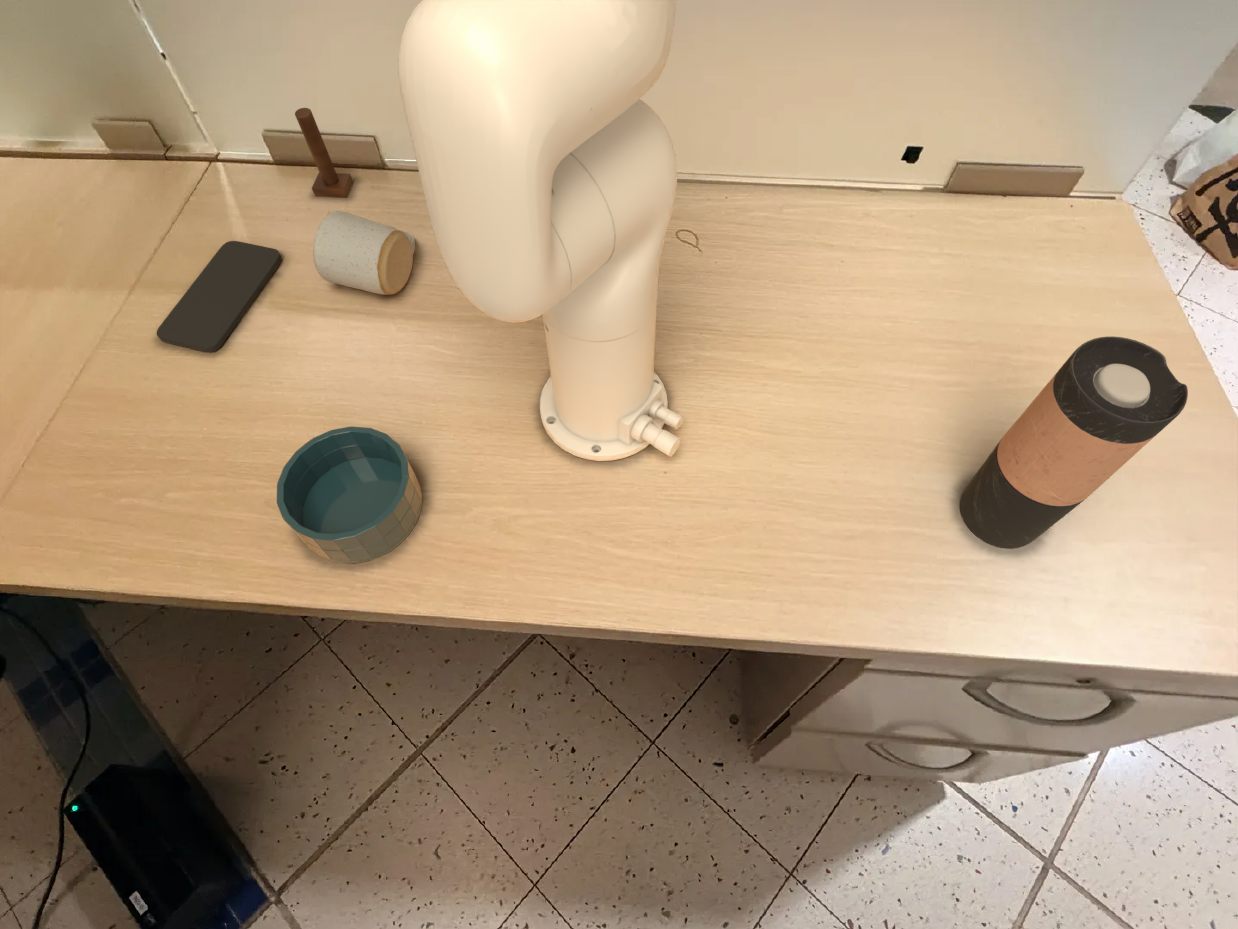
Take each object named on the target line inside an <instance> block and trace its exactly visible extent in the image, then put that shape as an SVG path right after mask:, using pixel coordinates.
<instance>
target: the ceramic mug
mask: <svg viewBox="0 0 1238 929" xmlns="http://www.w3.org/2000/svg"><path fill="white" fill-rule="evenodd" d="M312 250H313V252H312V254H313V255H312V256H313V261H314V265H315V268H316V271H317V273H318V275H319V276H320V277H321V278H322V279H323V280H324V281H326V282H328V283H331V284H337V285H341V286H345V287H349V288H352V289H357V290H361V291H366V292H369V293H372V294H377V295H385V296H387V295H388V296H389V295H395V294H397V293H399V292H400V291H401V290H402V289H403V288H404V287H405V285H406V284H407V282H408V280H409V278H410V277H411V276H410V275H411V272H412V269H413V263H414V262H413V261H414V253H415V252H416V239H415V237H414V235H412V234H411V233H409V232H407V231H404V230H401V229H398V228H396V227H394V226H391V225H388V224H385V223H381V222H377V221H374V220H371V219H367V218H365V217H361V216H358V215H355V214H353V213H350V212H349V213H348V212H345V211H341V210H336V211H331V212H330V213H328V214H326V216H325V217H323V219H322V220H321V222H320V223H319V224H318V227H317V229H316V232H315V236H314V239H313V249H312Z"/></svg>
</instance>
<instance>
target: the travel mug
mask: <svg viewBox="0 0 1238 929" xmlns="http://www.w3.org/2000/svg"><path fill="white" fill-rule="evenodd" d="M1188 398H1189V390H1188V386H1187V384H1186V383H1182V382H1180V381H1179V380H1178V379H1177V378H1176V377H1175V375H1174V374H1173V372H1172V371H1171V370H1170V367H1169V366H1168V362H1167V358H1166V356H1165V355H1164V354H1163V353H1162V352H1160V351H1159V350H1158V349H1156V348H1154V347H1152V346H1150V345H1148V344H1146V343H1144V342H1141V341H1138V340H1135V339H1131V338H1128V337H1122V336H1100V337H1096V338H1095V337H1094V338H1092V339H1089V340H1087V341H1085V342H1084V343H1082V344H1080V346H1078V347H1077V348H1076V349H1075V350H1074V351H1073V352H1072V354H1070V356H1069V357H1068V358H1067V359H1066V360H1065V362H1064V363H1063V364H1062V366H1061V367H1060V368H1059V369H1058V370H1057V372H1056V373H1055V374H1054V375H1053V376H1052V378H1051V379H1050V380H1049V381H1048V382H1047V384H1046V385H1045V386H1044V387H1043V388H1042V389H1041V391H1040V392H1039V393H1038V394H1037V396H1036V397H1035V398H1034V399H1033V400H1032V402H1031V403H1030V404H1029V405H1028V407H1026V409H1025V410H1024V411H1023V412H1022V413H1021V415H1020V416H1019V417H1018V418H1017V420H1015V422H1014V423H1013V424H1012V425H1011V427H1010V428H1009V429H1008V430H1007V431H1006V432H1005V434H1004V435H1003V436H1002V437H1001V439H1000V440H999V442H998V443H997V445H996V446H995V447H994V448H993V450H992V451H991V452H990V453H989V455H988V457H987V458H986V459H985V461H984V462H983V463H982V464H981V466H980V467H979V469H978V471H977V472H976V473H975V475H974V476H973V477H972V479H971V480H970V481H969V483H968V484H967V485H966V487H965V489H964V490H963V491H962V494H961V497H960V499H959V500H960V501H959V510H960V511H959V512H960V516H961V518H962V520H963V522H964V524H965V525H966V527H967V528H968V529H969V530H970V532H971V533H972V534H973V535H975V536H976V537H977V538H978V539H980V540H981V541H982V542H985V543H987V544H988V545H991V546H994V547H997V548H1000V549H1019V548H1022V547H1025V546H1027V545H1029V544H1031V543H1032V542H1033V541H1035V540H1036V539H1037V538H1039V537H1040V536H1041V535H1043V534H1044V533H1045V532H1047V531H1049V529H1050V528H1051V527H1053V526H1054V525H1055V524H1057V523H1058V522H1059V521H1060V520H1062V519H1063V518H1065V517H1066V515H1068V514H1069V513H1070V512H1072V511H1073V510H1074V509H1076V508H1077V507H1078V506H1080V504H1082V503H1083V502H1084V501H1085V500H1087V499H1088V498H1089V497H1090V496H1091V495H1092V494H1093V493H1094V492H1096V490H1098V489H1099V488H1100V487H1101V486H1102V485H1103V484H1104V483H1105V482H1106V481H1108V480H1109V479H1110V478H1111V477H1112V476H1113V475H1114V474H1115V473H1117V471H1119V470H1120V469H1121V468H1122V467H1123V466H1124V465H1125V464H1126V463H1127V462H1128V461H1130V460H1131V459H1132V458H1134V456H1135V455H1136V454H1138V452H1140V451H1141V450H1142V449H1143V448H1144V447H1146V445H1147V444H1149V442H1150V441H1152V440H1153V439H1154V438H1155V437H1156V436H1157V435H1158V434H1159V433H1160V432H1161V431H1163V430H1164V429H1165V428H1166V427H1168V425H1169V424H1171V423H1172V422H1173V421H1174V420H1175V419H1176V418H1177V417H1179V415H1180V414H1181V413H1182V411H1183V410H1184V408H1185V406H1186V404H1187V402H1188Z"/></svg>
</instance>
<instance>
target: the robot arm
mask: <svg viewBox="0 0 1238 929" xmlns="http://www.w3.org/2000/svg"><path fill="white" fill-rule="evenodd" d="M677 2H678V0H421V1H419V3H418V4H417V5H416V6H415V7H414V9H413V11H412V12H411V14H410V15H409V18H408V19H407V21H406V24H405V26H404V28H403V31H402V35H401V40H400V44H399V51H398V58H397V60H398V61H397V71H398V72H397V73H398V74H397V75H398V84H399V90H400V96H401V100H402V106H403V112H404V115H405V120H406V123H407V127H408V132H409V136H410V140H411V145H412V150H413V153H414V158H415V162H416V165H417V170H418V174H419V179H420V182H421V186H422V191H423V195H424V199H425V204H426V207H427V208H426V209H427V211H428V215H429V220H430V224H431V227H432V232H433V235H434V239H435V242H436V245H437V248H438V250H439V253H440V256H441V258H442V260H443V262H444V265H445V267H446V270H447V272H448V273H449V275H450V277H451V279H452V280H453V282H454V283H455V285H456V286H457V289H459V290H460V292H461V293H462V295H463V296H464V297H465V298H466V299H467V301H469V303H471V304H472V306H474V307H475V308H476V309H477V310H478V311H480V312H482V313H483V314H485V315H486V316H487V317H490V318H492V319H494V320H497V321H501V322H504V323H505V322H507V323H523V322H524V323H525V322H528V321H529V322H530V321H532V320H534V319H537V318H539V317H542V325H543V330H544V331H543V332H544V337H545V338H544V339H545V344H546V352H547V359H548V364H549V371H550V376H549V377H548V378H547V380H546V382H545V384H544V386H543V387H542V390H541V393H540V397H539V413H540V418H541V422H542V426H543V428H544V429H545V432H546V434H547V435H548V437H549V438H550V439H551V440H552V441H553V442H554V444H555V445H557V446H558V447H560V449H561V450H563V451H565V452H567V453H569V454H570V455H573V456H575V457H578V458H581V459H584V460H589V461H596V462H610V461H617V460H622V459H625V458H627V457H631V456H633V455H636V454H637V453H639V452H641V451H642V450H644V449H646V448H647V447H648V446H649V445H651V446H653V448H655V449H656V450H658V451H660V452H661V453H662V454H665V455H666V456H668V457H670V458H671V457H673V456H674V455H675V453H677V451H678V449H679V447H680V445H681V443H682V442H681V441H682V440H681V438H680V437H678V436H676V435H675V434H673V433H671V432H670V431H668V430H666V429H663V427H664V425H667V426H669V427H671V428H672V429H674V430H675V431H676V430H678V429H680V427H682V424H683V422H684V419H685V418H684V416H683V415H681V414H680V413H677V411H674V410H671V409H669V408H668V404H669V401H668V394H667V391H666V388H665V385H664V383H663V381H662V380H661V378H660V376H659V375H658V374H657V372H655V371H654V368H655V348H656V346H655V345H656V343H655V342H656V328H657V326H656V325H657V305H658V297H659V296H658V294H659V282H660V281H659V280H660V268H661V261H662V260H661V258H662V254H663V249H664V244H665V240H666V236H667V232H668V229H669V226H670V221H671V219H672V215H673V210H674V206H675V200H676V195H677V188H678V187H677V186H678V163H677V155H676V151H675V148H674V143H673V140H672V137H671V135H670V133H669V130H668V129H667V126H666V124H665V123H664V121H663V120H662V119H661V117H660V116H659V115H658V113H657V112H656V111H655V110H654V109H653V108H652V107H651V106H650V105H648V103H646V102H645V101H643V100H642V99H641V98H643V97H644V96H645V95H646V93H647V92H649V91H650V89H651V88H653V86H654V85H655V84H656V82H657V81H658V80H659V79H660V77H661V76H662V74H663V72H664V70H665V67H666V66H667V62H668V59H669V56H670V52H671V47H672V41H673V34H674V26H675V18H676V10H677V8H676V7H677Z"/></svg>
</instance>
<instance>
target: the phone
mask: <svg viewBox="0 0 1238 929" xmlns="http://www.w3.org/2000/svg"><path fill="white" fill-rule="evenodd" d="M282 260H283V257H282V254H281V253H280V251H279V250H278V249H276V248H272V247H267V246H263V245H258V244H254V243H249V242H243V241H238V240H229V241H227V242H224V243H223V244H222V245H221V246H220V248H219V249H218V250H217V252H215V254H214V255H213V257H212V258H211V259H210V260H209V262H208V263H207V264H206V266H205V267H204V268H203V270H202V271H201V272H200V274H199V275H198V276H197V277H196V278H195V279H194V281H193V283H192V284H191V285H190V286H189V288H187V290H186V292H185V293H183V296H182V297H181V298H180V299H179V300H178V302H177V303H176V304H175V305H174V307H173V308H172V310H171V311H170V312H169V314H168V315H167V316H166V318H164V320H163V321H162V323H160V325H159V326H158V327H157V330H156V337H158V338H159V340H160V341H162V342H163V343H166V344H170V345H175V346H179V347H183V348H187V349H192V350H196V351H200V352H205V353H212V352H215V351H217V350H219V349H220V348H221V347H222V346H223V344H224V343H225V341H226V340H227V339H228V337H229V336H230V335H231V333H232V332H233V331H234V329H235V328H236V326H237V325H238V323H239V322H240V321H241V319H242V318H243V316H244V315H245V313H247V311H248V309H249V308H250V307H251V305H252V304H253V302H254V301H255V299H256V297H257V296H258V295H259V293H260V292H261V291H262V289H263V288H264V287H265V285H266V284H267V282H268V280H269V279H270V278H271V277H272V275H273V274H274V272H275V271H276V269H277V268H278V267H279V265H280V264H281V262H282Z"/></svg>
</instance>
